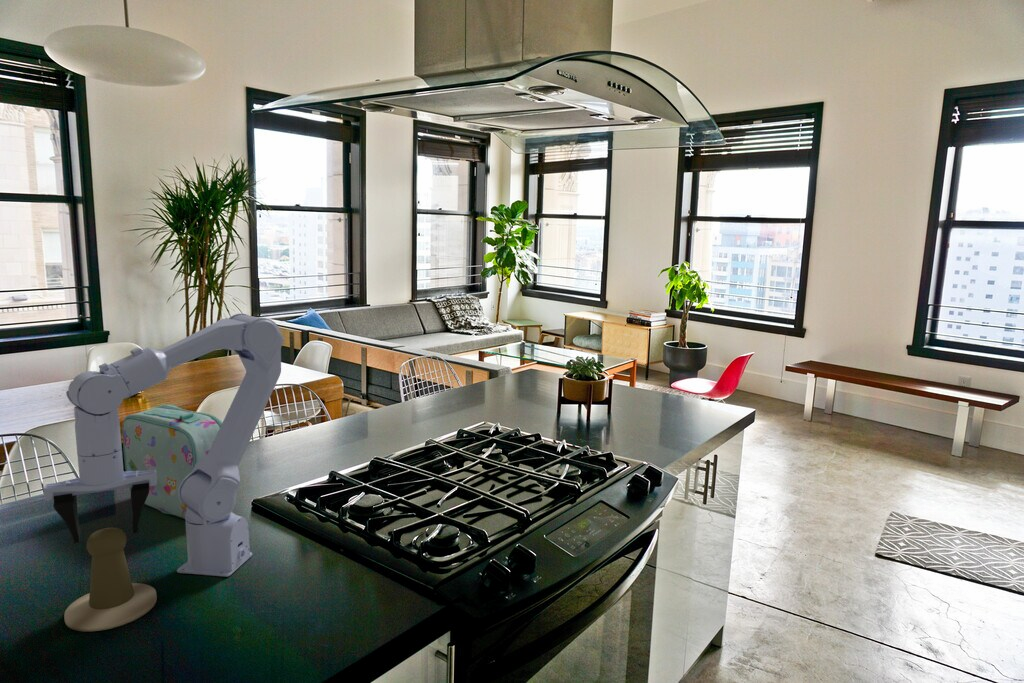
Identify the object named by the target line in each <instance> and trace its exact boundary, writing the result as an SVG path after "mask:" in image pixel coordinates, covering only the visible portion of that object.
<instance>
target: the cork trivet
mask: <svg viewBox="0 0 1024 683" xmlns="http://www.w3.org/2000/svg"><path fill="white" fill-rule="evenodd" d="M132 585H133V589H134V596H133V597H132V599H130V600H129V601H128V602H126V603H124V604H122V605H119V606H117V607H113V608H109V609H94V608H91V607H90V606H89V595H90V592H89V593H86V594H84V595H83V596H80V597H79V598H77V599H75V600H74V601H73V602H72V603H70V605H68V606H67V608H66V609H65V611H64V613H63V615H64V616H63V617H64V623H65V625H66V626H67V627H68V629H71V630H73V631H77V632H99V631H105V630H106V631H107V630H110V629H114V628H117V627H122V626H125V625H127V624H129V623H131V622H134V621H136V620H138V619H139V618H141V617H143V616H144V615H146V614H147V613H149V612H150V611H151V610H152V608H154V607H155V605H156V603H157V599H158V597H157V596H158V595H157V590H156V588H154V587H153V586H151V585H149V584H145V583H139V582H132Z"/></svg>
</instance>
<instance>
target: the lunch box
mask: <svg viewBox="0 0 1024 683" xmlns="http://www.w3.org/2000/svg"><path fill="white" fill-rule="evenodd" d="M222 423H223V421H222V420H221V419H220V418H219V417H217V416H215V415H212V414H211V413H206V412H200V411H193V410H187V409H184V408H181V407H178V406H176V405H173V404H160V405H158V406H155V407H153V408H150V409H146V410H144V411H139V412H136V413H131V414H128V415H126V416H125V417H124V419H123V422H122V446H123V448H122V450H123V459H124V460H123V461H124V469H125V471H148V470H156V474H157V485H153V486H149V494H148V497H147V499H146V501H145V503H144V505H147V506H148V507H151V508H154V509H155V510H158V511H160V512H161V513H162V514H165V515H173V516H176V517H178V518H181V519H184V520H185V514H186V511H187V506H186V505H185V504H183V503H182V502H181V500H180V498H179V495H178V490H179V486H180V484H181V482H182V481H183V479H184V478H185V477H186V476H188V475H189V474H190V473H191V472H192V470H193V469H194V467H195V465H196V463H197V462H198V461H200V460H201V459H203V458H204V457H205V456H207V454H208V452H209V450H210V448H211V446H212V444H213V442H214V440H215V438H216V435H217V433H218V431H219V429H220V427H221V425H222ZM128 489H129V491H130V493H131V487H129V488H128Z"/></svg>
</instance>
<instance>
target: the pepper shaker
mask: <svg viewBox="0 0 1024 683" xmlns="http://www.w3.org/2000/svg"><path fill="white" fill-rule="evenodd" d="M126 545H127V534H126V532H125V531H124V530H123V529H122V528H119V527H106V528H102V529H99V530H96V531H94V532H93V533H91V534H90V535H89V536H88V538H87V541H86V550H87V552H88V553H89V555H90V556H91V565H90V566H91V567H90V581H89V593H90V595H89V606H90V607H91V608H94V609H109V608H113V607H117V606H119V605H122V604H124V603H126V602H128V601H129V600H130V599H132V597H133V596H134V589H133V585H132V583H133V581H132V579H131V577H132V576H131V575H130V569H129V566H128V563H127V559H126V555H125V550H124V549H125V547H126Z"/></svg>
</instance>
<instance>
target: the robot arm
mask: <svg viewBox="0 0 1024 683" xmlns="http://www.w3.org/2000/svg"><path fill="white" fill-rule="evenodd" d="M284 342H285V337H284V336H283V333H282V332H281V329H280V327H279V326H278V325H277V323H276V322H275V321H274V320H272V319H270V318H268V317H257V316H252V315H249V314H247V313H235V314H233V315H231V316H230V317H225V318H222V319H219V320H217V321H215V322H214V323H212V324H210V325H208V326H206V327H203V328H202V329H200V330H198V331H196V332H194V333H192V334H190V335H188V336H186V337H184V338H182V339H180V340H178V341H176V342H174V343H172V344H170V345H168V346H166V347H164V348H162V349H160V350H158V349H153V348H151V347H146V348H143V349H142V348H140V347H136V348H133V349H131V350H130V351H129V352H130V355H127V356H125V357H123V358H121V359H118V360H116V361H113V362H112V363H110V364H108V363H106V362H104V363H102V364H100V365H98V368H99V371H92V370H88V371H87V370H86V371H84V372H81V373H79V374H77V375H76V376H75V377H74V378H73V380H72V381H70V383H69V385H68V389H67V390H66V391H65V393H66V397H67V399H68V400H69V402H70V403H71V404H72V405H74V408H73V410H74V420H75V422H74V431H75V432H74V433H75V444H76V454H77V465H78V466H77V467H78V475H79V476H78V477H76V478H72V479H67V480H62V481H58V482H51V483H46V484H44V487H43V496H44V501H45V502H47V501H53V509H54V511H55V512H56V513H57V514H58V515H59V516H60V517H61V518H62V520H63V521H64V524H65V525H66V526H67V528H68V530H69V533H70V534H71V537H72V540H73V544H80V543H81V537H82V536H81V527H80V521H79V516H78V515H79V514H78V496H79V495H87V494H92V493H93V494H94V493H99V492H106V491H113V490H120V489H129V487H131V492H130V501H131V511H132V524H131V525H132V527H131V528H132V534H138V533H139V523H140V518H141V514H142V511H143V508H144V506H145V504H144V503H145V501H146V499H147V497H148V494H149V486H153V485H157V474H156V470H148V471H126V470H125V471H124V462H123V461H124V460H123V459H124V457H123V448H122V446H123V445H122V436H121V423H120V418H119V409H118V408H119V407H120V406H121V404H122V403H123V400H124V399H129V398H130V397H133V396H134V395H136V394H139V393H140V392H143V391H145V390H147V389H149V388H151V387H154V386H155V385H157V384H160V383H162V382H164V381H165V380H167V378H168V376H169V374H170V371H171V370H172V369H173V368H175V367H178V366H180V365H182V364H185V363H187V362H189V361H192V360H195V359H197V358H199V357H202V356H204V355H207V354H209V353H212V352H214V351H216V350H232V351H234V352H235V354H237V355H238V357H239V359H240V361H241V363H242V365H243V367H244V370H245V373H244V377H243V379H242V380H241V383H240V385H239V387H238V389H237V391H236V393H235V395H234V398H233V399H232V402H231V404H230V406H229V408H228V411H227V413H226V414H225V417H224V419H223V421H222V422H223V423H222V425H221V427H220V429H219V431H218V433H217V435H216V438H215V440H214V442H213V444H212V446H211V448H210V450H209V452H208V454H207V456H205V457H204V458H203V459H201V460H200V461H198V462H197V463H196V465H195V467H194V469H193V470H192V472H191V473H190V474H189V475H188V476H186V477H185V478H184V479H183V481H182V482H181V484H180V486H179V490H178V495H179V498H180V500H181V502H182V503H183V504H185V505H186V506H187V511H186V514H185V519H184V520H185V533H186V534H185V535H186V537H185V538H186V549H187V550H186V551H187V561H186V562H185V563H183V564H182V565H181V566H180V567H178V568H177V569H176V572H177V573H179V574H189V575H190V574H191V575H200V576H201V575H203V576H213V577H214V576H216V577H227V578H228V577H230V576H231V575H233V574H234V572H236V571H237V570H238V569H239V568H240V567H241V566H242V565H243V564H245V562H246V561H248V560H249V559H250V558H251V557H252V556H253V552H251V550H250V548H251V547H250V546H251V545H250V532H249V523H248V519H247V518H246V517H244V516H241V515H238V514H236V513H234V512H233V511H234V509H235V507H236V503H237V500H238V499H237V493H238V489H239V485H240V484H241V478H240V472H239V465H240V463H241V461H242V459H243V457H244V455H245V452H246V450H247V448H248V445H249V443H250V441H251V439H252V437H253V435H254V433H255V431H256V428H257V426H258V424H259V421H260V419H261V418H262V415H263V413H264V411H265V408H266V407H267V404H268V402H269V400H270V397H271V395H272V394H273V391H274V389H275V386H276V385H277V383H278V381H279V378H280V376H281V374H282V347H283V344H284Z"/></svg>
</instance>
